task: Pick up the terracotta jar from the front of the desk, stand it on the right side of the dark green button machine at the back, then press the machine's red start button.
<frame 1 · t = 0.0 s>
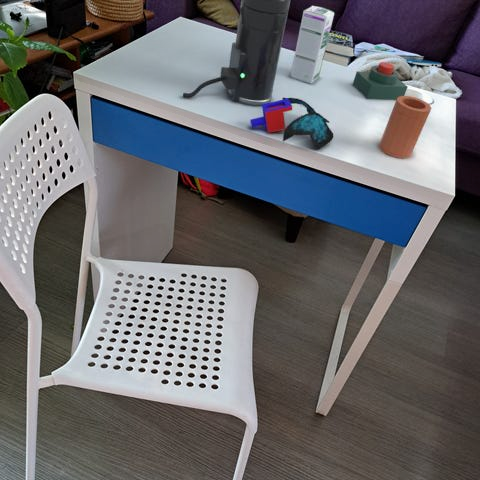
syrup box: (303, 78, 121), on the table
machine: (377, 92, 122), on the table
start button: (385, 68, 118), point 5 cm above the table, slide at 0.1 cm
butterfly: (328, 136, 100), on the table, touching toy building block
toy building block: (292, 112, 97), point 4 cm above the table, touching butterfly
jar: (395, 150, 101), on the table
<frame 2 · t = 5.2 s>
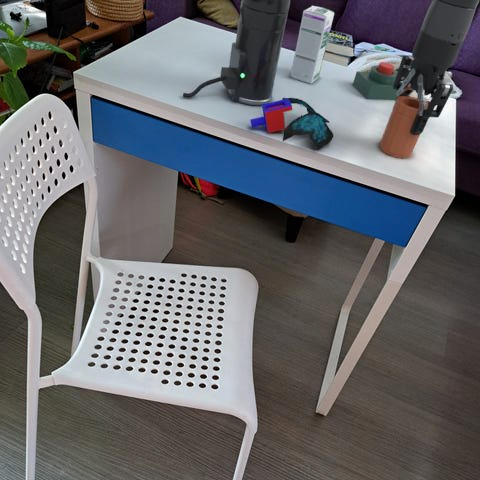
hand: (405, 125, 97), 5 cm above the table, tool pointing down, fingers closed on jar, 6 cm apart
jar: (395, 150, 101), on the table, touching gripper
everything else where it was.
when the fingers open (5 cm above the table, at t = 13.4 s): jar stays where it is, on the table.
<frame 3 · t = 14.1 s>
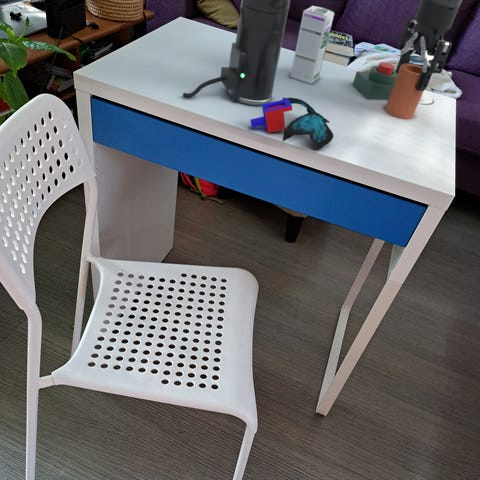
hand: (409, 81, 111), 7 cm above the table, tool pointing down, fingers open, 8 cm apart
jar: (399, 112, 115), on the table
everything else where it was.
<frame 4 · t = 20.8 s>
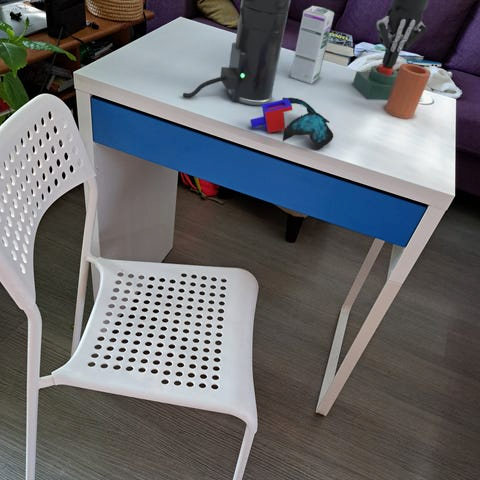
hand: (387, 67, 118), 6 cm above the table, tool pointing down, fingers closed
start button: (384, 70, 118), point 5 cm above the table, slide at -0.3 cm, touching gripper
everything else where it was.
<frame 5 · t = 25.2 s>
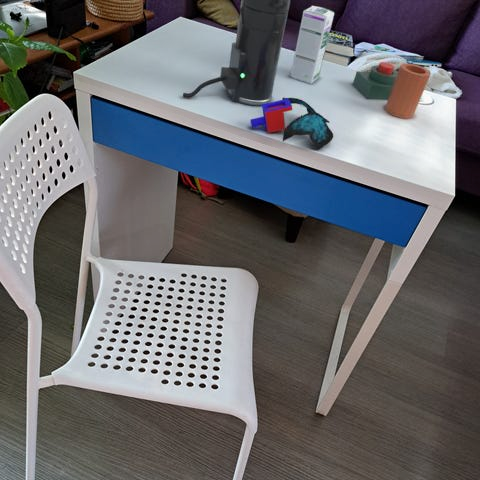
start button: (385, 68, 118), point 5 cm above the table, slide at 0.1 cm
everything else where it was.
at the end: jar inside the target area on the table beside the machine (0.2 cm from its centre), on the table; jar tilted 0°; start button pushed in 1.1 cm at the most during the clip, back to where it started at the end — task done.
